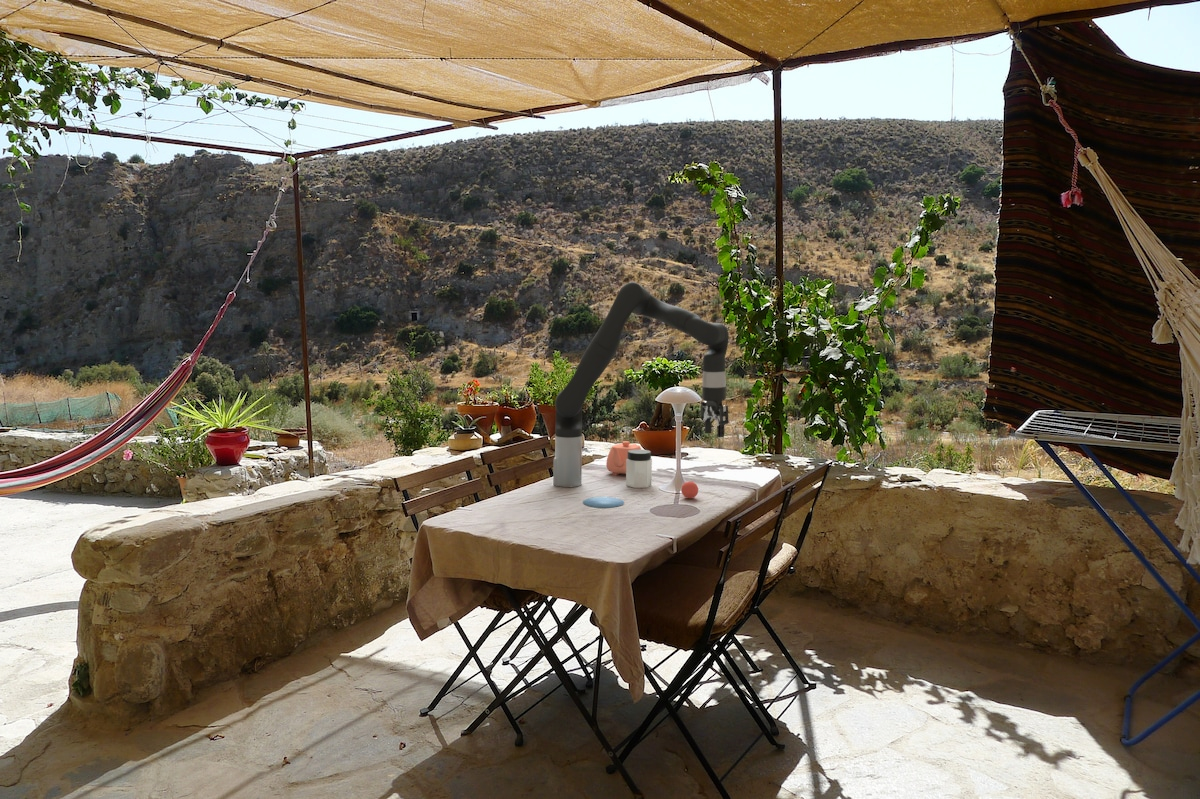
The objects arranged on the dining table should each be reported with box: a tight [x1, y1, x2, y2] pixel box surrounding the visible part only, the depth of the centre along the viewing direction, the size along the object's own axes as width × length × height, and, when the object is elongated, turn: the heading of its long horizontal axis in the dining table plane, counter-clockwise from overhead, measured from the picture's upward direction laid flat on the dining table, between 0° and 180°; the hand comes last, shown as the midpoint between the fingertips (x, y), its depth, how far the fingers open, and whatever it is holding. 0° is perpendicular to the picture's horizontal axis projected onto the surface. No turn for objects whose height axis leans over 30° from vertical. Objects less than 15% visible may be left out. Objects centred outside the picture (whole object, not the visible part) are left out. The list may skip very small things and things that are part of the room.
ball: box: [680, 481, 699, 499], centre depth 255 cm, size 6×6×6 cm
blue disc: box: [582, 496, 625, 509], centre depth 249 cm, size 13×13×1 cm
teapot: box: [605, 440, 642, 476], centre depth 290 cm, size 13×20×12 cm, turn 153°
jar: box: [625, 449, 653, 489], centre depth 272 cm, size 9×8×12 cm
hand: (714, 435), depth 254 cm, fingers open, 8 cm apart
